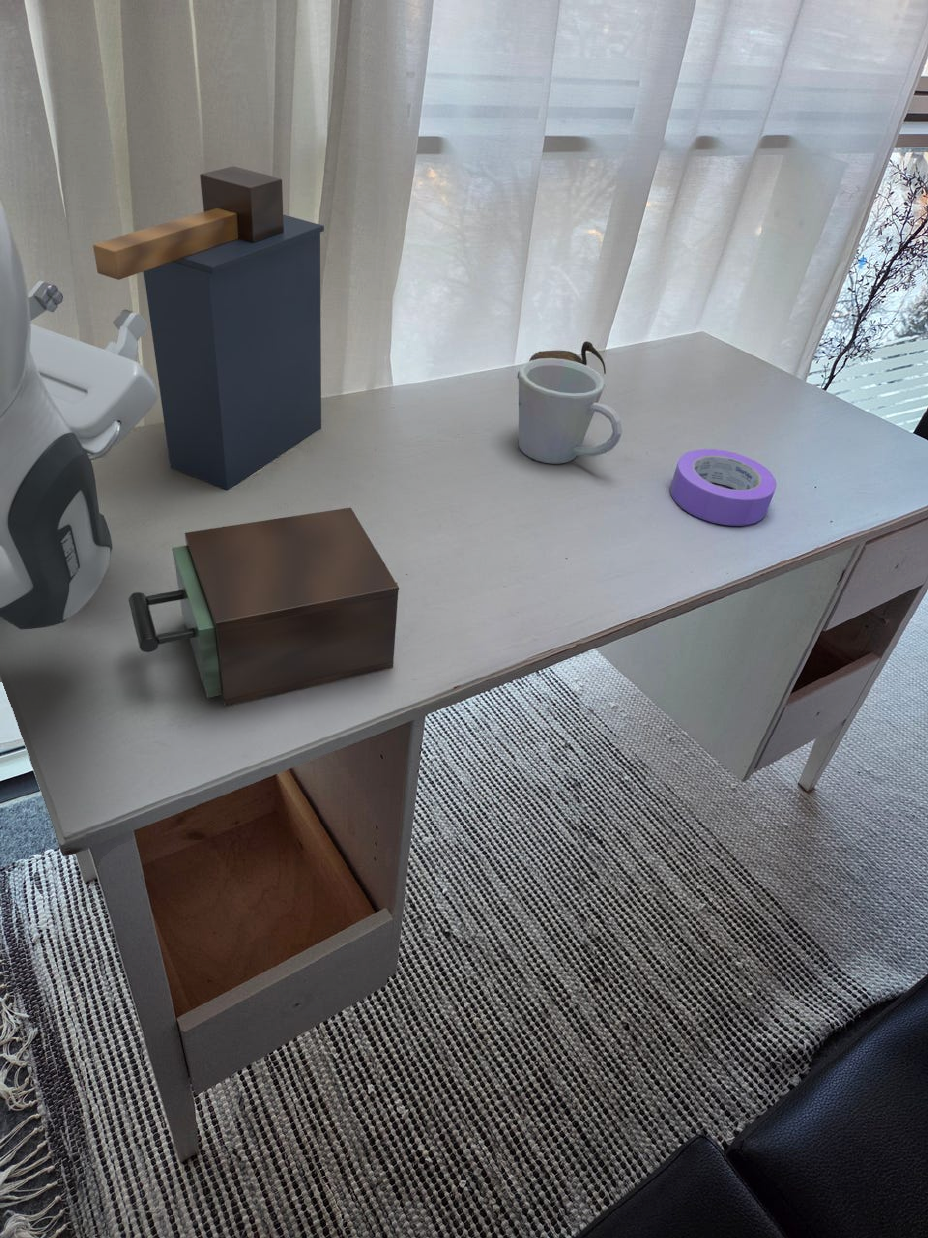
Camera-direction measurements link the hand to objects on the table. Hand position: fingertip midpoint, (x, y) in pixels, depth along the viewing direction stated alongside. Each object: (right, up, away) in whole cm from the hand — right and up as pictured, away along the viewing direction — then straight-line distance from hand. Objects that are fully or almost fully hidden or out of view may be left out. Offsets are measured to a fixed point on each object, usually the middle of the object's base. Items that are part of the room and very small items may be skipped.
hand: (94, 301), depth 71 cm
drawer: (+13, -29, +1) cm, 32 cm away
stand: (+6, -7, +28) cm, 29 cm away
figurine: (+45, +5, +48) cm, 66 cm away
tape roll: (+62, -13, +30) cm, 70 cm away
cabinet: (+16, -29, +3) cm, 33 cm away
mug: (+44, -7, +34) cm, 56 cm away
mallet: (+6, +8, +8) cm, 12 cm away
